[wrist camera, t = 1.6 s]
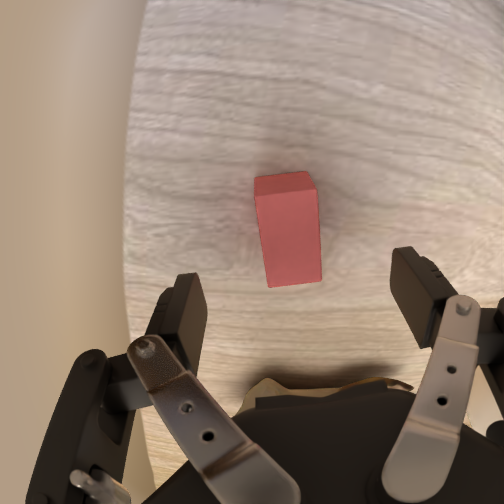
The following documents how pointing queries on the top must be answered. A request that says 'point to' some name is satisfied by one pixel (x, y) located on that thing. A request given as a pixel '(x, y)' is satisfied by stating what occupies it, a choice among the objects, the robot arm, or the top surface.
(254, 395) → the ceramic sculpture
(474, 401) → the milk container
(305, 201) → the eraser
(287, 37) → the top surface
